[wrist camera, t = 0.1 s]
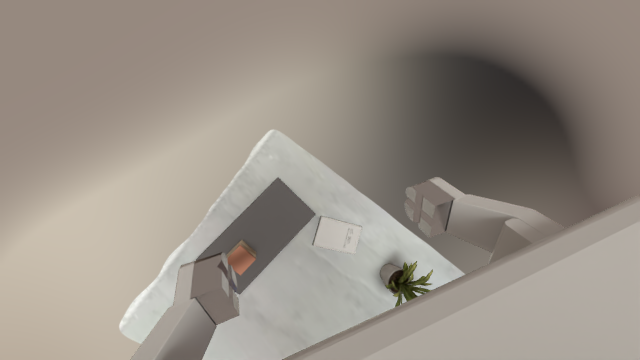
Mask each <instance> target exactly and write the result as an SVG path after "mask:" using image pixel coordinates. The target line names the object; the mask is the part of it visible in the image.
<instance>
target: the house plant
mask: <svg viewBox="0 0 640 360" xmlns="http://www.w3.org/2000/svg"><path fill="white" fill-rule="evenodd" d="M416 263H417V261H416V262H415V263H414V264H413V266H412V263H411V265H410V266H409V269H408V265H407V264H406V262H405V263H404V266H403V269H401V268H399V267H396V266H394V265H392V264H386V265H384V266H383V267H382V268H381V270H380V276H381V278H382V280H383V281H384V283H385V284H386V285H385V286H386V287H387V289H389V290H390V291H391V292H392V293H393V294H394V295H393V296H395V297H398V300H397V303H396V306H395V307H397V306H399V305H400V301H401V304H402V294H404V297H405V298H406V300H407V301H410V300H412V299H414V298H416V297H418V296H417V295H415V293H414V292H413V291H415V292H418V293H421V294H425V293H423V292H429V291H431V290H428V289H424V288H418V287H414V286H416V285H424V286H426V285H431V284H429V283H425V282H426V281H428V280H429V278H430V276H431V274H432V272H433V270H432V271H431V272H430V273H428V275H427V276H426V277H425V276H422V277H421V278H420V279H418V280H417V281H412V280H413V279H414V278H413V271H414V270H415V268H416V266H417V265H416ZM415 265H416V266H415ZM410 276H411V277H410ZM420 287H421V286H420ZM417 290H419V291H417ZM420 291H423V292H420ZM400 294H401V295H400Z"/></svg>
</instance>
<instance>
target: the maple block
mask: <svg viewBox="0 0 640 360" xmlns="http://www.w3.org/2000/svg"><path fill="white" fill-rule="evenodd" d="M255 260H256V252H255V251H254V250H253V249H252V248H251V247H250V246H249V245H247V244H246V243H245V242H244V241H243V240H241V241H240V242H239V243H238V244H237V245H236V246H235V247H234V248H233V249H232V250H231V251H230V252H229V253H228V254H227V261H228V264H229V265H231V266H232V268H233V270H234V271H236V272H237V273H238V274H239V275H240V276H241V274H242V273H243V272H244V271H245V270H246V269H247V268H248V267H249V266H250V265H251V264H252V263H253V262H254V261H255Z"/></svg>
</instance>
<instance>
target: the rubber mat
mask: <svg viewBox="0 0 640 360" xmlns="http://www.w3.org/2000/svg"><path fill="white" fill-rule="evenodd" d="M314 215H315V213H314V212H313V211H312V210H311V209H310V208H309V207H308V206H307V205H306V204H305V203H304V202H303V201H302V200H301V199H300V198H299V197H298V196H297V195H296V194H295V193H294V192H292V191H291V190H290V189H289V188H288V187H287V186H286V185H285V184H284V183H283V182H282V181H281V180H280V179H279V178H277V179H276V180H275V181H274V182H273V183H272V184H271V185H270V186H269V187H268V188H267V189H266V190H265V191H264V192H263V193H262V194H261V195H260V196H259V197H258V198H257V199H256V200H255V201H254V202H253V203H252V204H251V205H250V206H249V207H248V208H247V209H246V210H245V211H244V212H243V213H242V214H241V215H240V216H239V217H238V218H237V219H236V220H235V221H234V222H233V223H232V224H231V225H230V226H229V227H228V228H227V229H226V230H225V231H224V232H223V233H222V234H221V235H220V236H219V237H218V238H217V239H216V240H215V241H214V242H213V243H212V244H211V245H210V246H209V247H208V248H207V249H206V250H205V251H204V252H203V253H202V254H201V255H200V256H199V257H198V258H197V259H196V260H199V259H202V258H205V257H208V256H212V255H215V254H218V253H221V252H224V253H225V255H226V256H227V254H228V253H229V252H230V251H231V250H232V249H233V248H234V247H235V246H236V245H237V244H238V243H239V242H240V241H241V240H243V241H244V242H245V243H246V244H247V245H249V246H250V247H251V248H252V249H253V250H254V251H255V252H256V260H255V261H254V262H253V263H252V264H251V265H250V266H249V267H248V268H247V269H246V270H245V271H244V272H243V273H242V274H241V276H240V275H239V274H238V273H237V272H236V271H234V272H235V275H236V280H237V288H238V289H237V290H236V292H237V293H238V294H239V295H240V294H241V293H242V292H243V291H244V289H245V288H246V287H247V286H248V285H249V284H250V283H251V282H252V281H253V280H254V279H255V278H256V277H257V276H258V275H259V274H260V273H261V271H262V270H263V269H264V268H265V267H266V266H267V265H268V264H269V263H270V262H271V261H272V260H273V259H274V258H275V257H276V256H277V254H278V253H279V252H280V251H281V250H282V249H283V248H284V247H285V246H286V245H287V244H288V243H289V242H290V241H291V240H292V239H293V238H294V236H295V235H296V234H297V233H298V232H299V231H300V230H301V229H302V228H303V227H304V226H305V225H306V224H307V223H308V222H309V221H310V220H311V218H312V217H313V216H314Z"/></svg>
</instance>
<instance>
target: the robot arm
mask: <svg viewBox="0 0 640 360" xmlns="http://www.w3.org/2000/svg"><path fill="white" fill-rule="evenodd" d="M406 196H407V197H408V198H407V200H406V202H405V211H406V213H407V215H408V217H409V218H410V219H411V220H412V221H413V222H416V223H419V228H420V229H421V230H422V231H423V232H424V233H425V234H426V235H427V236H428V237H429V238H430V237H433V236H435V235H438V234H441V233H443V232H446V233H448V234H450V235H453V236H455V237H457V238H459V239H462V240H464V241H466V242H469V243H471V244H473V245H475V246H478V247H480V248H482V249H485V250H487V251H489V252H491V253H492V254H491V257H490V259H489V264H488V265H485V266H483V267H481V268H479V269H477V270H475V271H472V272H470V273H468V274H466V275H464V276H462V277H459V278H457V279H455V280H453V281H451V282H449V283H446V284H444V285H442V286H440V287H438V288H436V289H433V290H431V291H429V292H427V293H425V294H423V295H420V296H418V297H416V298H414V299H412V300H410V301H407V302H405V303H403V304H401V305H399V306H397V307H395V308H392V309H390V310H388V311H386V312H384V313H382V314H379V315H377V316H375V317H373V318H371V319H369V320H366V321H364V322H362V323H360V324H358V325H356V326H353V327H351V328H349V329H347V330H345V331H343V332H340V333H338V334H336V335H334V336H332V337H330V338H328V339H325V340H323V341H321V342H319V343H317V344H315V345H312V346H310V347H308V348H306V349H304V350H302V351H299V352H297V353H295V354H293V355H291V356H289V357H287V358H284V359H282V360H640V195H637V196H634V197H632V198H630V199H628V200H626V201H624V202H621V203H620V204H617V205H615V206H613V207H611V208H608V209H606V210H604V211H602V212H600V213H598V214H596V215H593V216H591V217H589V218H587V219H585V220H583V221H581V222H578V223H576V224H574V225H572V226H570V227H568V228H565V227H563V226H561V225H560V224H558V223H556V222H554V221H552V220H550V219H549V218H547V217H546V216H544V215H542V214H540V213H539V212H537V211H535V210H534V209H530V208H526V207H522V206H517V205H513V204H509V203H505V202H500V201H496V200H492V199H487V198H483V197H478V196H474V195H469V194H468V195H465V194H463V193H462V192H460V191H459V190H457V189H456V188H454V187H453V186H451V185H450V184H448V183H447V182H445V181H444V180H442V179H441V178H438V177H435V178H432V179H429V180H427V181H424V182H421V183H419V184H416V185H413V186H410V187H408V188H407V190H406ZM237 289H238V288H237V280H236V275H235V272H234V270H233V268H232V266H231V265H229V264H228V261H227V256H226V255H225V253H224V252H221V253H218V254H215V255H212V256H208V257H205V258H202V259H199V260H196V261H194V262H191V263H188V264H185V265H181V267H180V269H179V273H178V279H177V285H176V291H175V297H174V303H173V306H172V307H169V308H168V309H167V311H166V312H165V313H164V315H163V316H162V317H161V319H160V320H159V321H158V323H157V324H156V325H155V327H154V328H153V329H152V331H151V332H150V334H149V335H148V336H147V338H146V339H145V340H144V342H143V343H142V344H141V346H140V347H139V348H138V350H137V351H136V353H135V354H134V355H133V356H132V358H131V359H130V360H202V358H203V356H204V354H205V351H206V349H207V347H208V345H209V342H210V340H211V338H212V336H213V334H214V331H215V329H216V325H218V324H220V323H223V322H225V321H227V320H229V319H232V318H234V317H236V316H239V301H238V297H237V296H236V294H235V292H236V290H237Z"/></svg>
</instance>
